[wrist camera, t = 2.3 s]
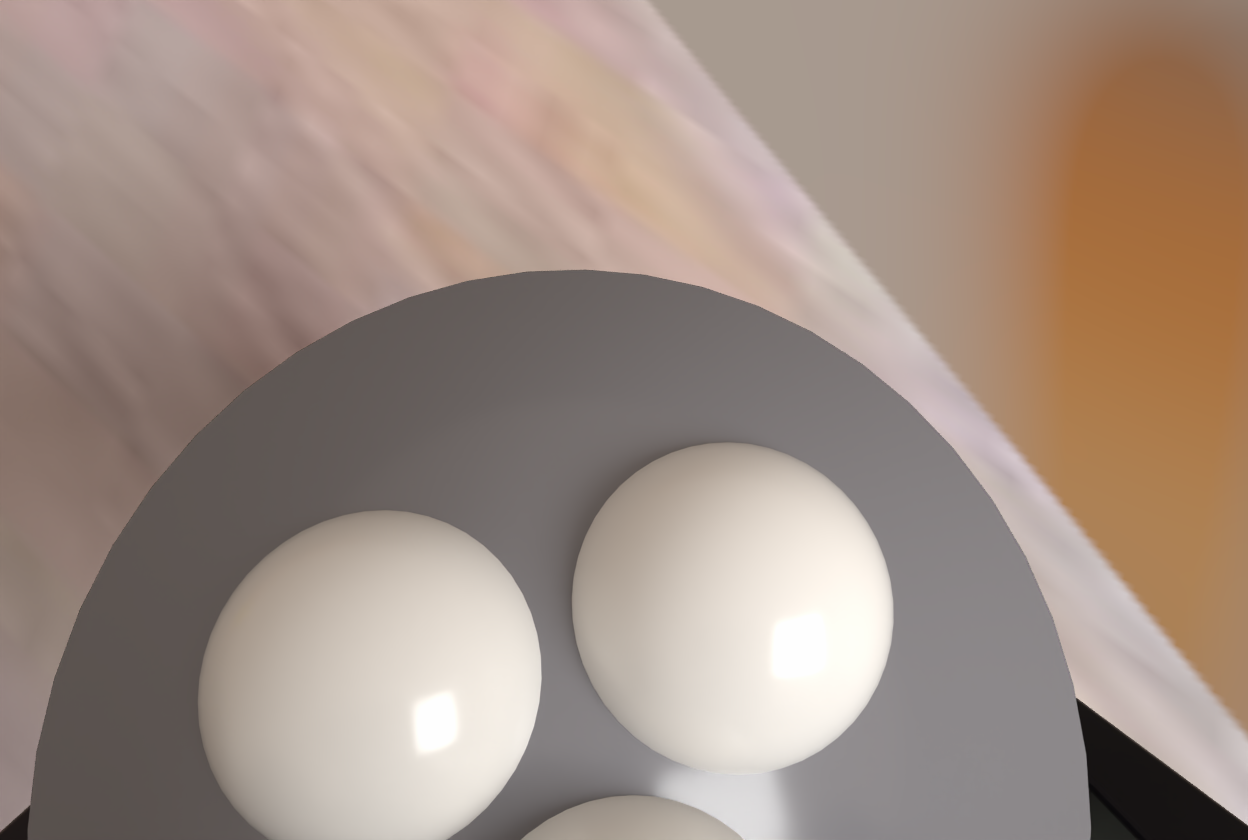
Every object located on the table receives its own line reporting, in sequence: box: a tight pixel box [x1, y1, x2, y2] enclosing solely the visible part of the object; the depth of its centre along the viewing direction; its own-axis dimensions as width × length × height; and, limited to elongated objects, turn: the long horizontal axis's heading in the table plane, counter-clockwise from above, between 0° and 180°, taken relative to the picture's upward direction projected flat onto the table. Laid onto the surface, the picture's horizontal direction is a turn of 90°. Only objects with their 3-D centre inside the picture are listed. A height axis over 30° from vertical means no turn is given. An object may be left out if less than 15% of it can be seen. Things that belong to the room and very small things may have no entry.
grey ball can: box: [28, 270, 1091, 840], centre depth 10 cm, size 5×5×14 cm
